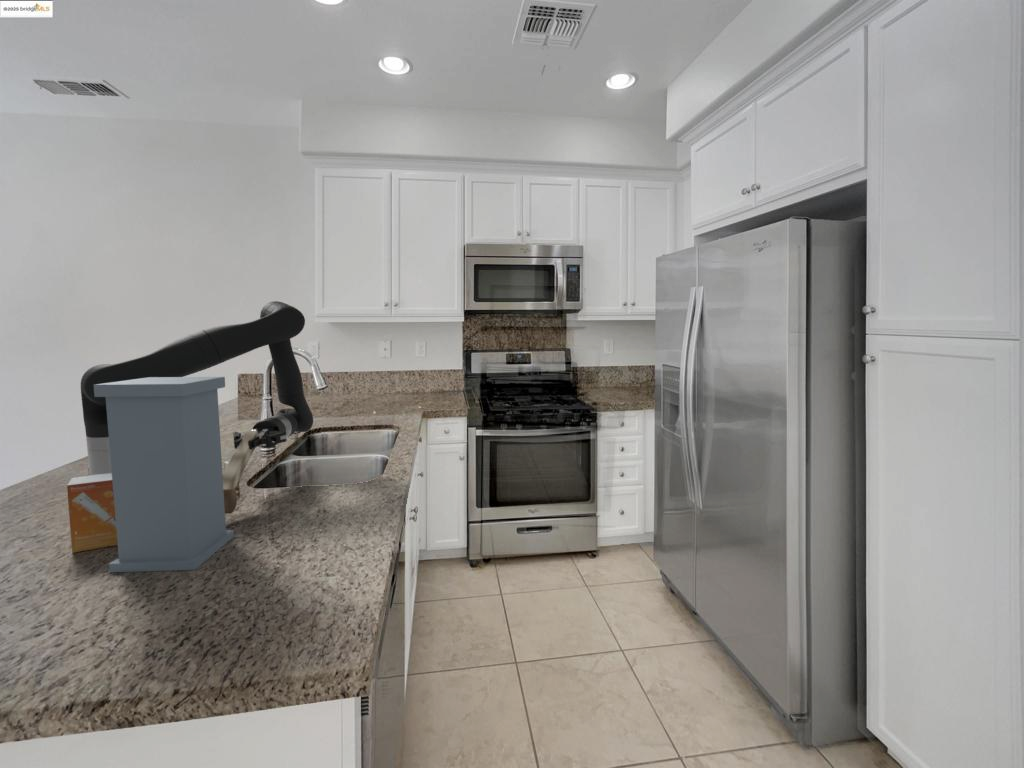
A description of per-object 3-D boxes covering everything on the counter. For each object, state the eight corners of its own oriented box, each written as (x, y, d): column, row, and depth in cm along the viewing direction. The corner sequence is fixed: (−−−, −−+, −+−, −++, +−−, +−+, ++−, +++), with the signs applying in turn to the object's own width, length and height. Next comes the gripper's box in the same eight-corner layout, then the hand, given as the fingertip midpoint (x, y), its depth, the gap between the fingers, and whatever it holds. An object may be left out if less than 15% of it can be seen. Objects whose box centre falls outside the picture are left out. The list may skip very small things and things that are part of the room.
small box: (71, 554, 93) (65, 485, 92) (77, 542, 99) (71, 476, 97) (126, 544, 98) (121, 478, 96) (129, 533, 103) (124, 470, 102)
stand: (109, 572, 86) (93, 384, 83) (160, 539, 100) (148, 377, 97) (195, 569, 87) (182, 384, 84) (234, 537, 101) (224, 376, 98)
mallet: (230, 518, 107) (223, 502, 104) (195, 519, 106) (187, 503, 103) (269, 438, 127) (263, 422, 124) (240, 438, 126) (234, 423, 123)
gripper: (245, 417, 137) (211, 430, 120) (298, 416, 138) (272, 429, 121) (246, 444, 138) (213, 461, 120) (299, 444, 138) (274, 460, 121)
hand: (243, 445), depth 121 cm, fingers closed on mallet, 2 cm apart
